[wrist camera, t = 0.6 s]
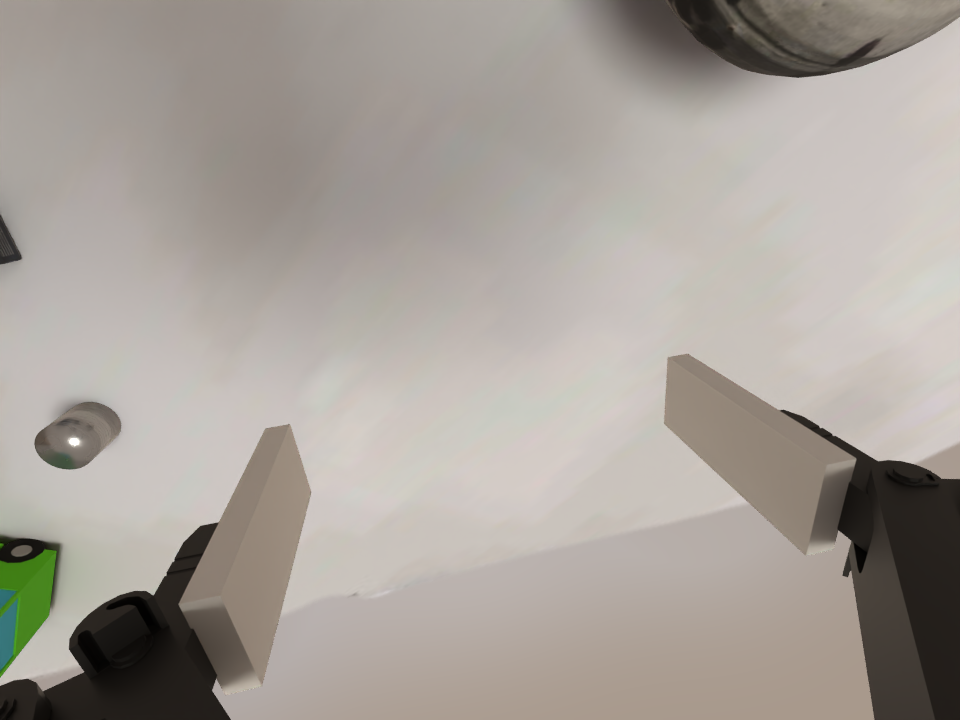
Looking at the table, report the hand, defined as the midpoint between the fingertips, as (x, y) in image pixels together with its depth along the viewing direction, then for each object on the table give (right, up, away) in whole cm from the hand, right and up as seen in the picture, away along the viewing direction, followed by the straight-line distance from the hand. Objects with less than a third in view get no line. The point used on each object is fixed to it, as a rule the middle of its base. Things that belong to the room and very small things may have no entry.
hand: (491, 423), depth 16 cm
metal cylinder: (-34, -3, +24) cm, 42 cm away
